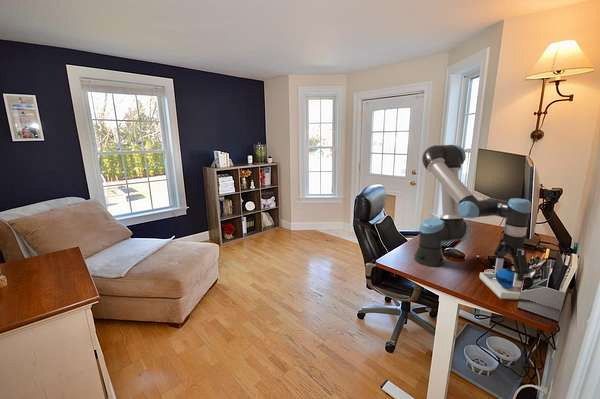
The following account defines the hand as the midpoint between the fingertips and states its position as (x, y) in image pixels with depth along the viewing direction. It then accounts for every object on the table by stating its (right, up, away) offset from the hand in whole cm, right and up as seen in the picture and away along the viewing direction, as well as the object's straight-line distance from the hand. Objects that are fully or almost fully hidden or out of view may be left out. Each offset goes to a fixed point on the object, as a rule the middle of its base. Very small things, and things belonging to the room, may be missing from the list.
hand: (506, 278), depth 119 cm
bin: (0, -5, +1) cm, 5 cm away
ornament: (0, -4, +1) cm, 4 cm away
